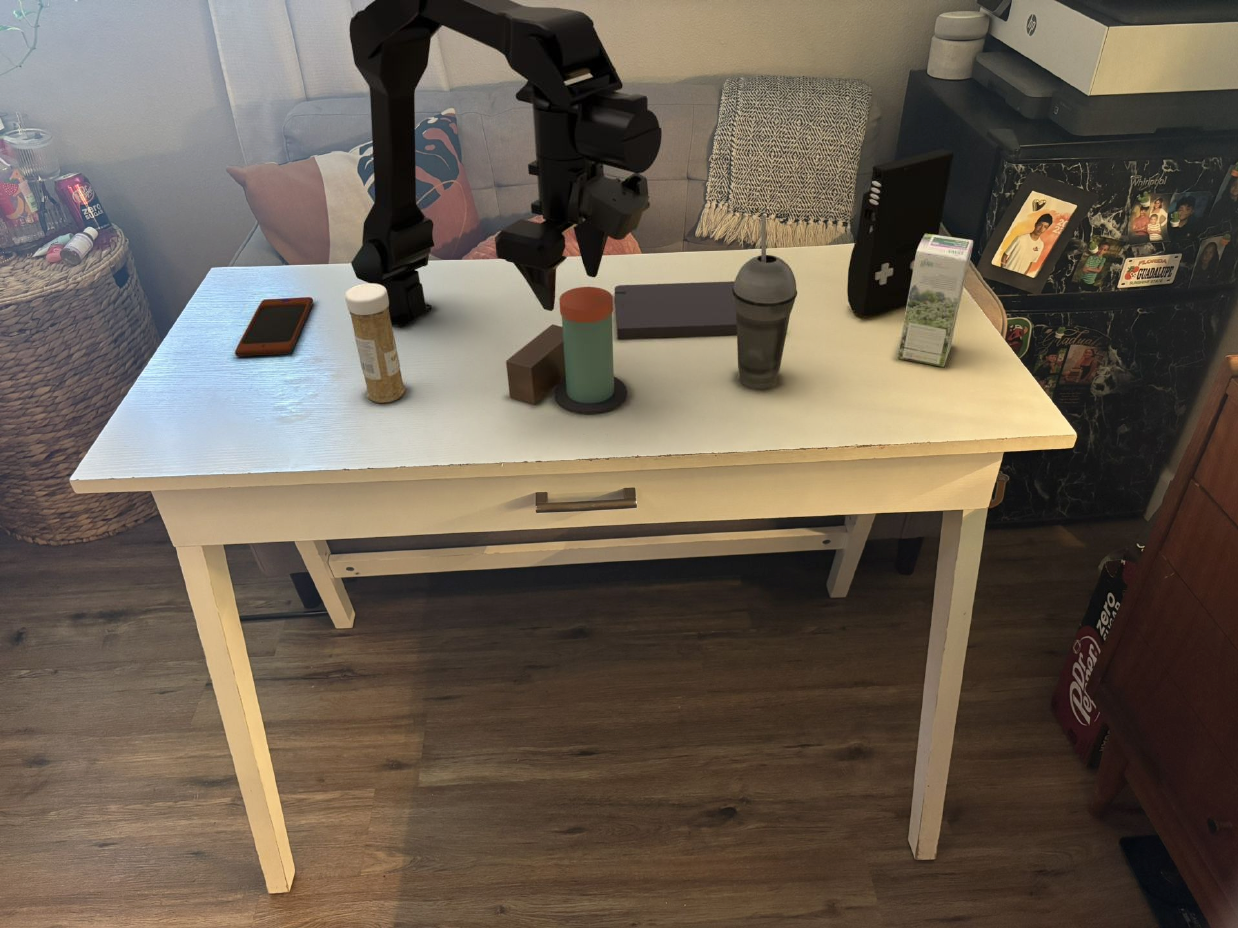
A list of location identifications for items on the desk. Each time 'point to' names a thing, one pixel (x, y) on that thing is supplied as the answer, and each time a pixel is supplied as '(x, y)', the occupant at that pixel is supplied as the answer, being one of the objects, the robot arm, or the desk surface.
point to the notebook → (675, 310)
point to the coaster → (593, 408)
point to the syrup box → (934, 298)
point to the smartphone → (274, 327)
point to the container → (588, 343)
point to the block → (537, 366)
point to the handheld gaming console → (895, 229)
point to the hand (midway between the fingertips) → (571, 292)
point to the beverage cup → (762, 315)
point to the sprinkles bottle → (375, 341)
